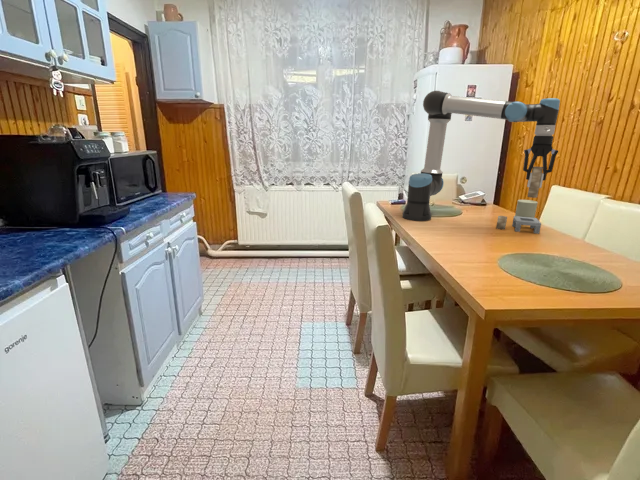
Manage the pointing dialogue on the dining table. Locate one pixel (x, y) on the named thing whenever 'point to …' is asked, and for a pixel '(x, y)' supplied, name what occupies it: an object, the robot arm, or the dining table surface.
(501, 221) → the short dowel
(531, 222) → the square frame with posts
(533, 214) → the can
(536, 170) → the long dowel
